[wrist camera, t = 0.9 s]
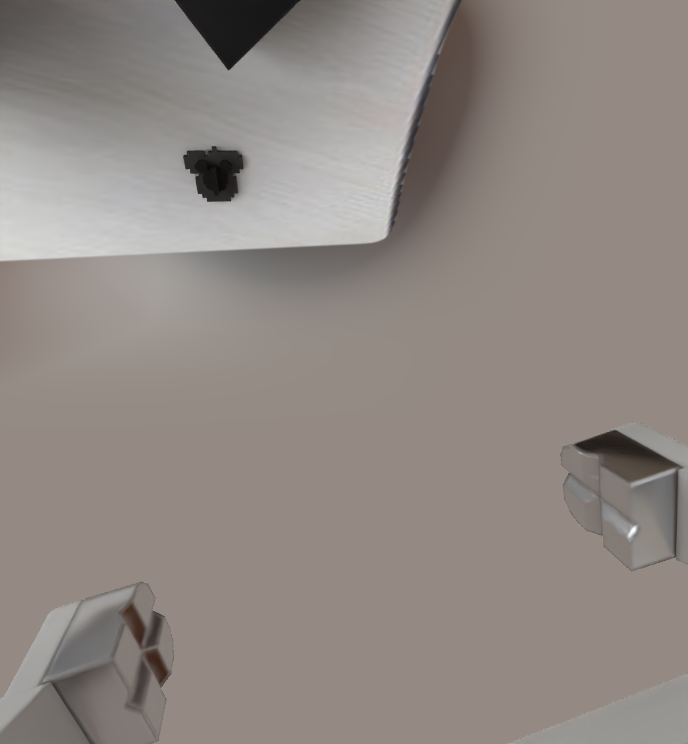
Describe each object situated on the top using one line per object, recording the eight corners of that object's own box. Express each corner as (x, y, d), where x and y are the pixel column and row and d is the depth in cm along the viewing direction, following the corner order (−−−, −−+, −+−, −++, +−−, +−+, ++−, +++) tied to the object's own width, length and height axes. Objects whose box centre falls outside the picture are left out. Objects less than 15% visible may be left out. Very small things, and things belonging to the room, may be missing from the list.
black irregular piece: (189, 208, 49) (179, 152, 45) (191, 200, 51) (182, 146, 47) (246, 207, 50) (240, 152, 46) (246, 199, 52) (241, 146, 48)
